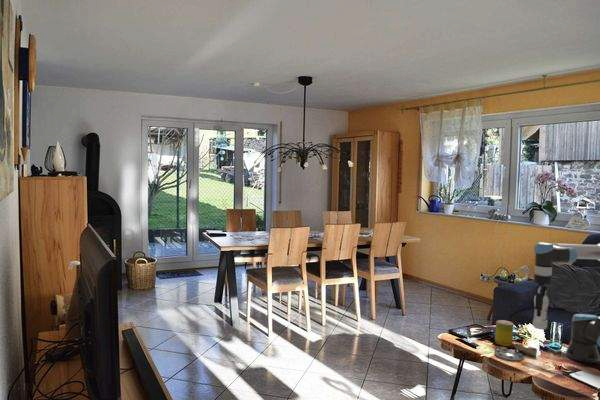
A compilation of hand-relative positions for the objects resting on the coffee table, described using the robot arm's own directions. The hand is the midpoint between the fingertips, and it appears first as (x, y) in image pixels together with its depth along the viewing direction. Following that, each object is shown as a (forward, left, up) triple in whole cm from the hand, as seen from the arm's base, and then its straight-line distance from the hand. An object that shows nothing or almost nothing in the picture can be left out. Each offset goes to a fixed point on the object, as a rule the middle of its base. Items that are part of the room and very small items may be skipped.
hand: (540, 320), depth 230 cm
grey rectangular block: (+10, -18, -25) cm, 32 cm away
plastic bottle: (0, 0, -4) cm, 4 cm away
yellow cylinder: (+24, -27, -25) cm, 44 cm away
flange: (+16, -9, -25) cm, 31 cm away
